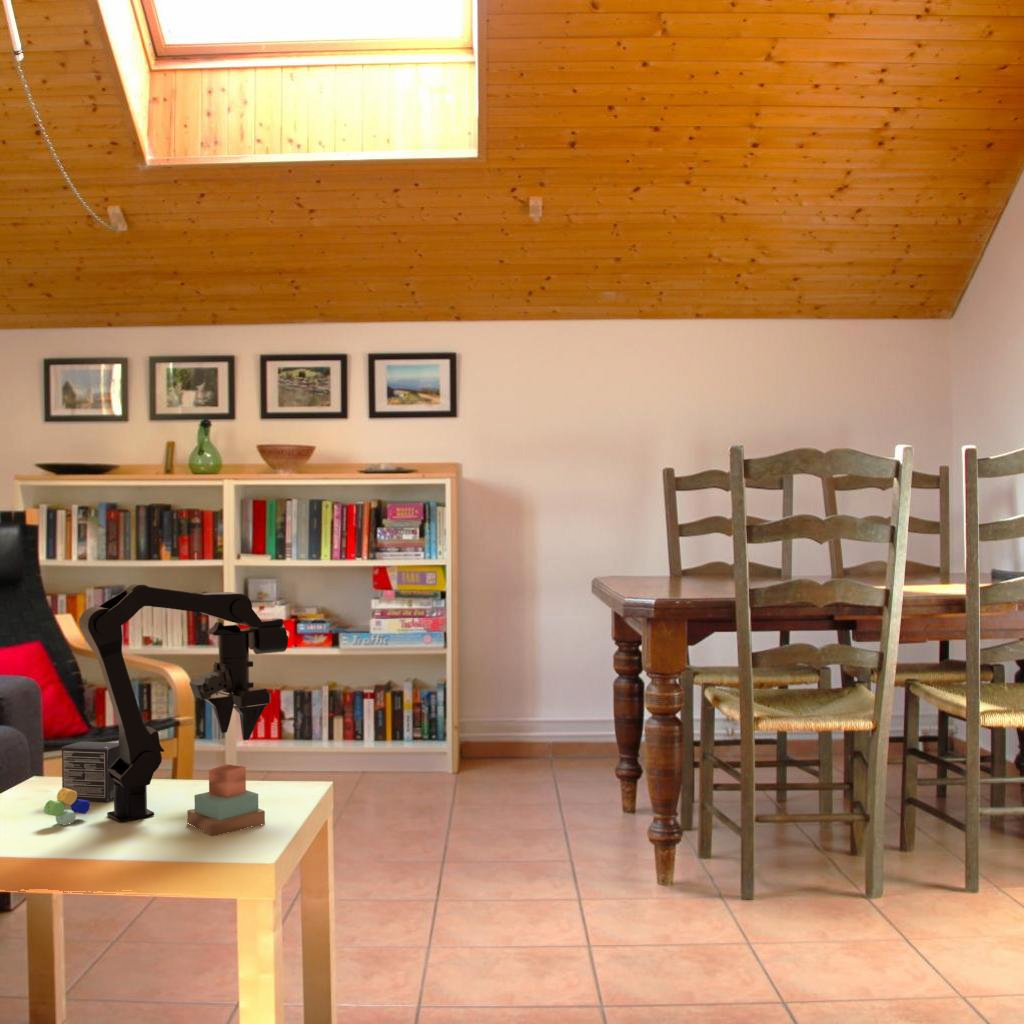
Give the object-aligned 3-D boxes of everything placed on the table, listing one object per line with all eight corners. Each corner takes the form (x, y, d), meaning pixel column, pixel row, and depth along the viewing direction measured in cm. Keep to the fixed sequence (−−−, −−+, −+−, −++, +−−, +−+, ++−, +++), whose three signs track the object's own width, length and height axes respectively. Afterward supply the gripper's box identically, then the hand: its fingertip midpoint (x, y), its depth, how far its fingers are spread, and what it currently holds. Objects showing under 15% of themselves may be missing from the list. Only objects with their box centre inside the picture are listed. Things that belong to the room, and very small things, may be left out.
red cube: (209, 795, 187) (208, 769, 187) (227, 789, 191) (226, 764, 191) (227, 797, 184) (227, 772, 185) (245, 791, 188) (245, 766, 188)
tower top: (194, 811, 187) (194, 795, 187) (233, 802, 193) (233, 786, 193) (218, 820, 181) (218, 803, 181) (258, 810, 187) (258, 793, 187)
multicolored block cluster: (83, 816, 193) (82, 781, 193) (91, 818, 192) (91, 783, 192) (42, 827, 187) (42, 791, 187) (50, 829, 185) (50, 793, 185)
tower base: (187, 827, 188) (187, 810, 188) (238, 815, 194) (238, 799, 194) (212, 839, 180) (212, 822, 180) (264, 827, 187) (264, 810, 187)
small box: (128, 794, 208) (127, 741, 208) (108, 803, 202) (107, 749, 202) (81, 791, 211) (80, 739, 211) (60, 800, 204) (59, 746, 204)
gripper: (174, 656, 206) (175, 735, 206) (217, 665, 192) (218, 750, 192) (226, 650, 214) (227, 726, 214) (271, 659, 200) (272, 741, 200)
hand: (234, 736), depth 205 cm, fingers open, 9 cm apart
